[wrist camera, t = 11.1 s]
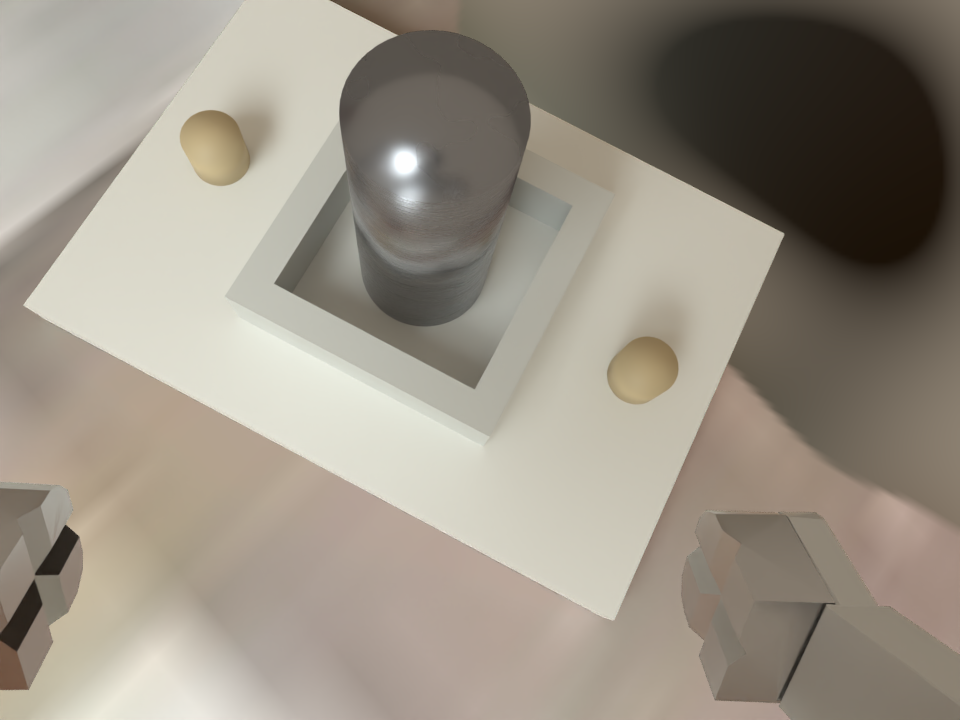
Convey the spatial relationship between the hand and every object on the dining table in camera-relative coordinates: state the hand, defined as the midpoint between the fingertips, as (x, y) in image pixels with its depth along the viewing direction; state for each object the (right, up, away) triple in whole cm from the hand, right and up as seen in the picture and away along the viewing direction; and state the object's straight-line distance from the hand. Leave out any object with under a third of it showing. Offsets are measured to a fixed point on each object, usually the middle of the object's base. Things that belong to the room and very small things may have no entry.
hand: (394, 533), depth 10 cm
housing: (-1, +5, +16) cm, 17 cm away
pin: (-1, +5, +15) cm, 16 cm away
